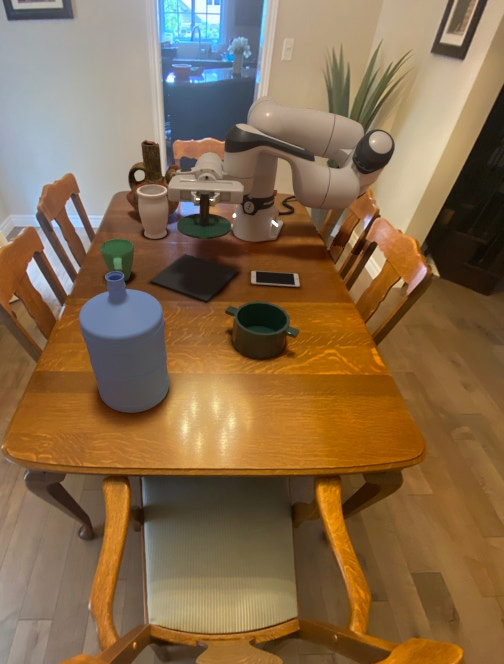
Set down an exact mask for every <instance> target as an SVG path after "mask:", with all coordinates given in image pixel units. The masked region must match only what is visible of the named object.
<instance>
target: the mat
mask: <svg viewBox="0 0 504 664" xmlns="http://www.w3.org/2000/svg"><path fill="white" fill-rule="evenodd" d="M238 273H239V270H238V269H235V268H232V267H228V266H226V265H222V264H219V263H215V262H213V261H209V260H207V259H202V258H199V257H197V256H194V255H190V254H187V253H185V254H183V255H182V256H181V257H180V258H178V259H176V260H175V261H174V262H173V263H172V264H170V265H169V266H168V267H167V268H165V269H164V270H162V271H161V272H160V273H159V274H157V275H156V276H155V277H153V278H152V279H151V280H150V283H151V284H153V285H156V286H159V287H161V288H164V289H166V290H170V291H173V292H175V293H178V294H181V295H184V296H186V297H190V298H192V299H195V300H197V301H200V302H204V303H208V302H209V301H210V300H211V299H212V298H213V297H215V295H217V294H218V292H220V290H222V289H223V288H224V287H225V286H226V285H227V284H228V283H229V282H230V281H231V280H232V279H233V278H234V277H235V276H236V275H237V274H238Z"/></svg>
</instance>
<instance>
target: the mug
mask: <svg viewBox="0 0 504 664" xmlns="http://www.w3.org/2000/svg"><path fill="white" fill-rule="evenodd" d="M99 251H100V254H101V257H102V259H103V261H104V264H105V266H106V268H107V270H108V272H113V271H118V272H122V273H123V274H124V282H126V281H128V280H129V279H130V277H131V274H132V269H133V263H134V256H135V255H134V253H135V245H134V243H133V242H132V241H130V240H128V239H126V238H125V239H124V238H112V239H108V240H104V242H103V244H102V243H101V244H100V245H99Z"/></svg>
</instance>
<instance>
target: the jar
mask: <svg viewBox="0 0 504 664" xmlns="http://www.w3.org/2000/svg"><path fill="white" fill-rule="evenodd" d="M137 194H138V196H139V199H138V208H139V212H138V214H139V217H140V222H141V225H142V228H143V229H144V232H143V235H144V236H145V237H146V238H148V239H151V240H153V239H154V240H158V239H162V238H165V237H167V234H168V232H167V226H168V220H169V217H168V201H167V197H166V195H167V188H165V187H164V186H160V185H145V186H141V187H139V188H138V189H137Z"/></svg>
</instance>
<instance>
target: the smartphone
mask: <svg viewBox="0 0 504 664" xmlns="http://www.w3.org/2000/svg"><path fill="white" fill-rule="evenodd" d="M250 284H251V285H253V286H255V285H256V286H271V287H286V288H287V287H289V288H300V286H301V284H300V277H299V274H298V273H296V272H295V273H294V272H293V273H292V272H280V271H279V272H278V271H264V270H263V271H262V270H251V272H250Z"/></svg>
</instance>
